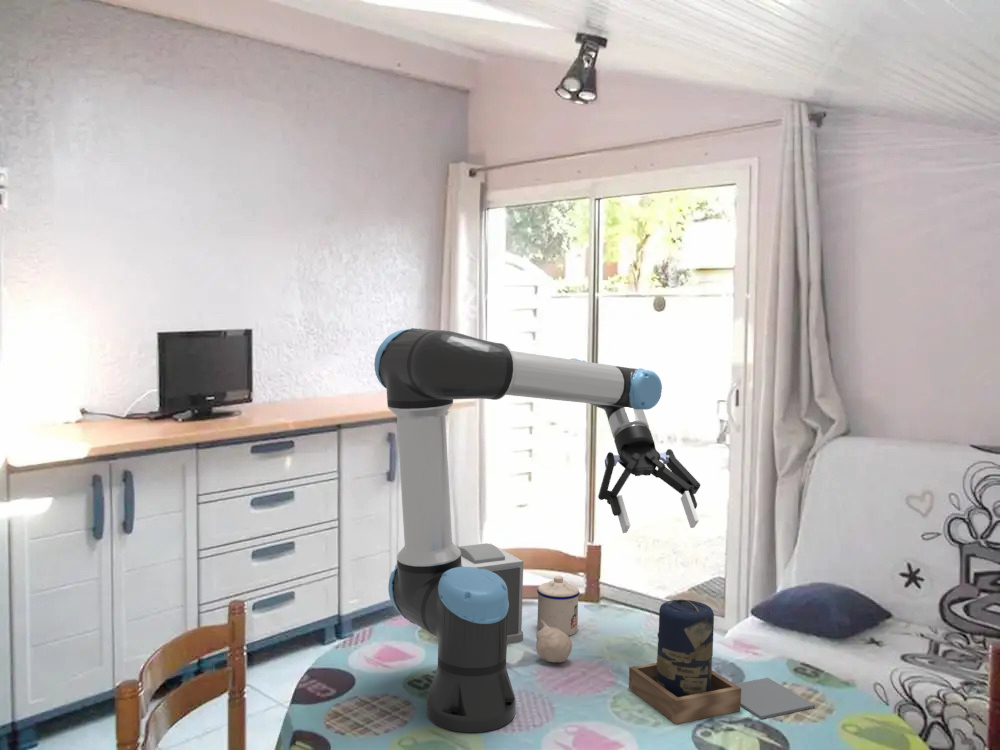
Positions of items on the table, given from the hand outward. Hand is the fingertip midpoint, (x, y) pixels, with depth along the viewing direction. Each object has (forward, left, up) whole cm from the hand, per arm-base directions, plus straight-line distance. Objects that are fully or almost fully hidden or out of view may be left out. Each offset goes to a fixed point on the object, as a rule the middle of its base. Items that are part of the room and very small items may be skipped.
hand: (661, 527), depth 158 cm
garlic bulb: (-15, +13, -29) cm, 35 cm away
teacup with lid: (-6, +29, -29) cm, 41 cm away
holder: (-1, -10, -29) cm, 30 cm away
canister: (-1, -10, -29) cm, 31 cm away
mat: (+13, -15, -29) cm, 35 cm away
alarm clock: (-23, +33, -29) cm, 50 cm away
